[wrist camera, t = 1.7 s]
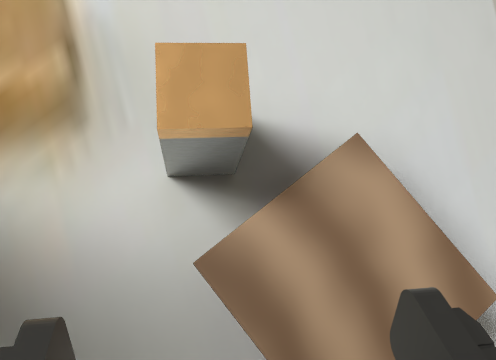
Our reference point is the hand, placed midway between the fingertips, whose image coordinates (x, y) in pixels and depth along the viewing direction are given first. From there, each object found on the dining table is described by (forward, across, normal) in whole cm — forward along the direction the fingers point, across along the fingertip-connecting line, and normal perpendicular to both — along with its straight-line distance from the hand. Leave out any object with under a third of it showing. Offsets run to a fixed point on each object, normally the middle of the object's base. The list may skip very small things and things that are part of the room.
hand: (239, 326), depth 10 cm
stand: (+15, -8, +14) cm, 22 cm away
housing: (+23, 0, +6) cm, 24 cm away
